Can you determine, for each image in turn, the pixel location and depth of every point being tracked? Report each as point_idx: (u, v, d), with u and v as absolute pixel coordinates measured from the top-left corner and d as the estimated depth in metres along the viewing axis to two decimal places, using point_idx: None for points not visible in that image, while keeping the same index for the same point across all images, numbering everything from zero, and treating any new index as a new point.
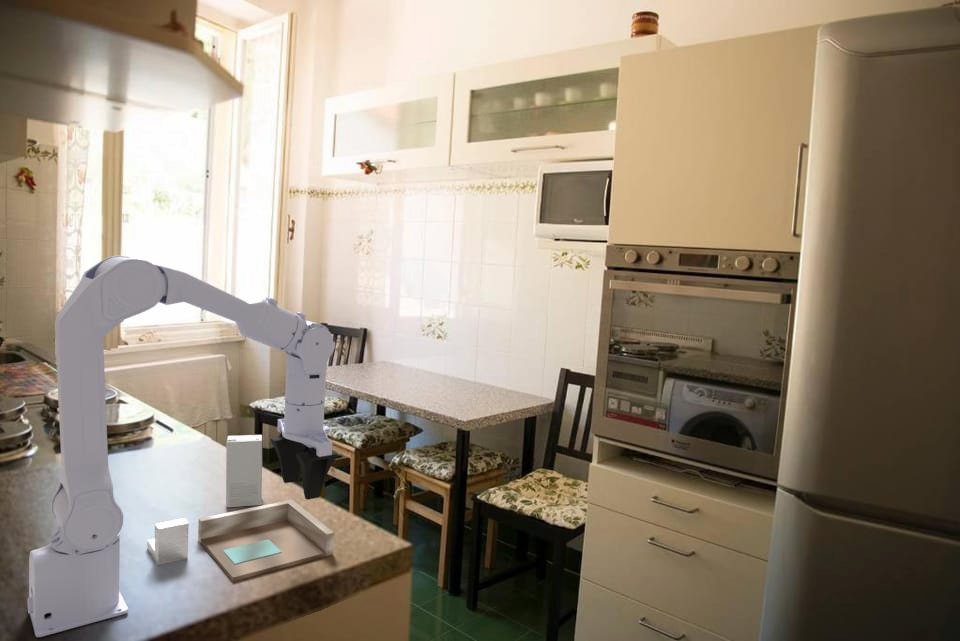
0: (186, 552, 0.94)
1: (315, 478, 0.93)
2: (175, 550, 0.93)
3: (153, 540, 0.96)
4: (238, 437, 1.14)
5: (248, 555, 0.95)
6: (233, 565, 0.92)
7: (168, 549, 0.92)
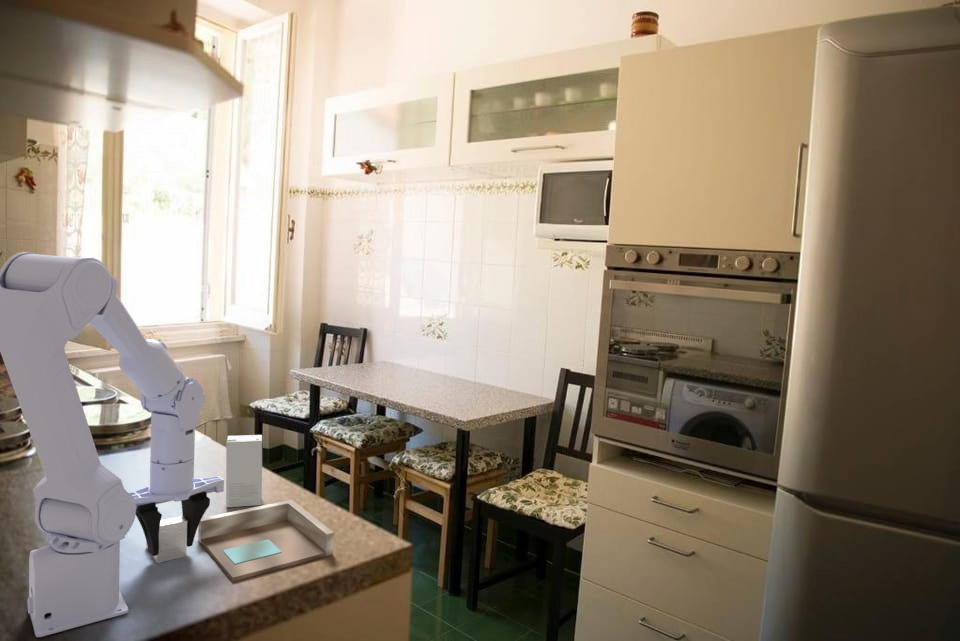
0: (185, 550, 0.94)
1: None
2: (174, 548, 0.93)
3: None
4: (238, 437, 1.14)
5: (248, 555, 0.95)
6: (233, 565, 0.92)
7: (167, 547, 0.93)
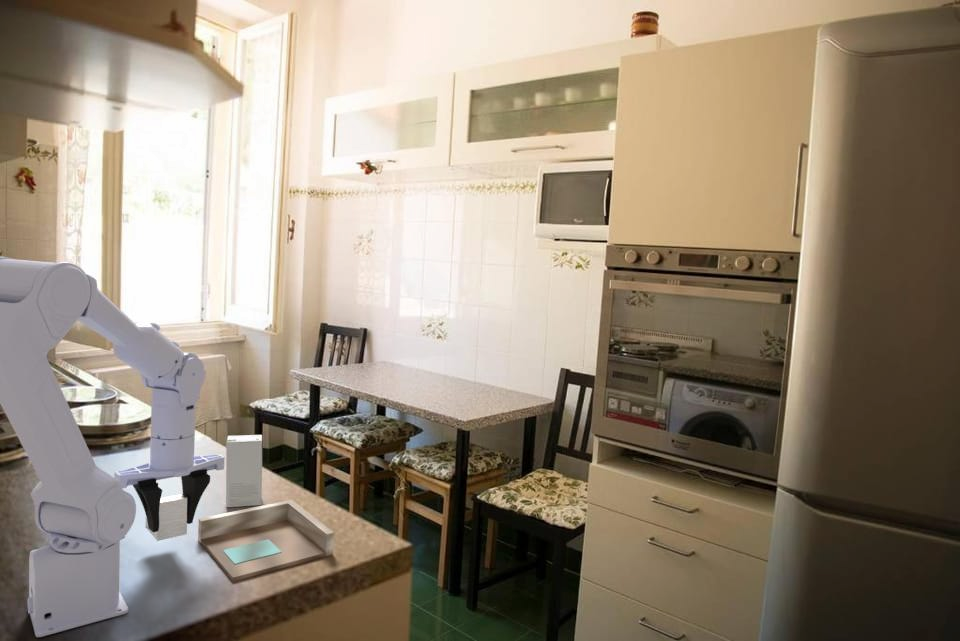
0: (185, 527, 0.94)
1: (150, 509, 0.91)
2: (174, 525, 0.93)
3: None
4: (238, 437, 1.14)
5: (248, 555, 0.95)
6: (233, 565, 0.92)
7: (167, 524, 0.92)
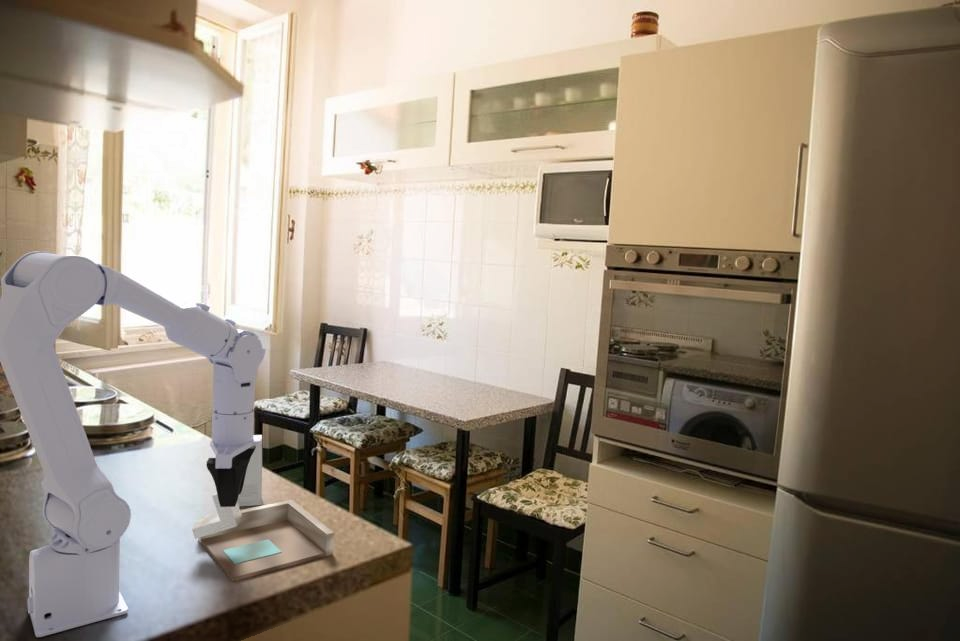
0: (239, 509, 0.97)
1: (228, 486, 0.92)
2: (236, 509, 0.96)
3: (197, 526, 0.93)
4: None
5: (248, 555, 0.95)
6: (233, 565, 0.92)
7: (234, 509, 0.95)
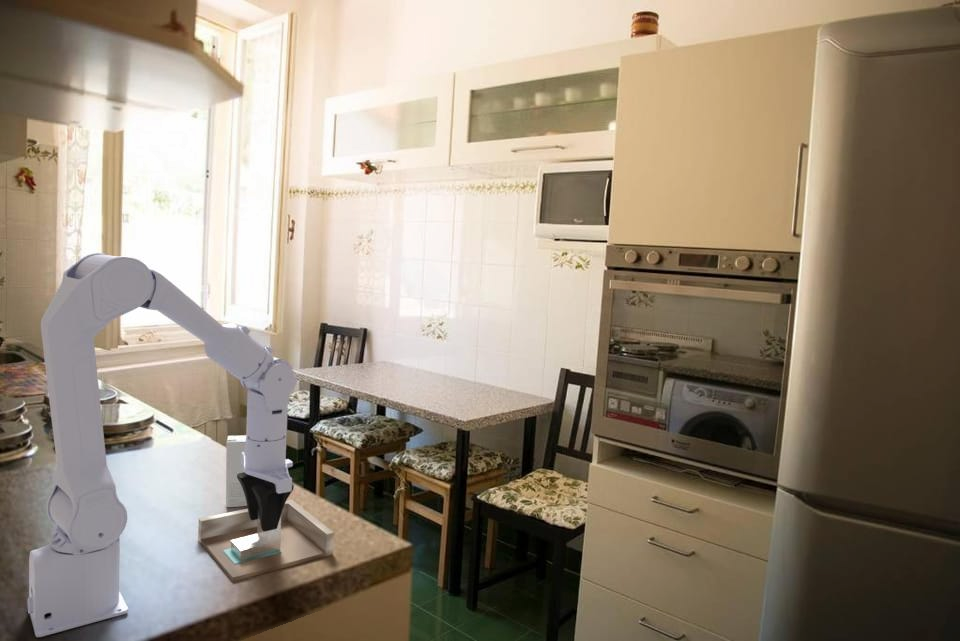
0: None
1: (272, 510, 0.94)
2: None
3: (242, 547, 0.94)
4: (238, 437, 1.14)
5: None
6: (233, 565, 0.92)
7: None
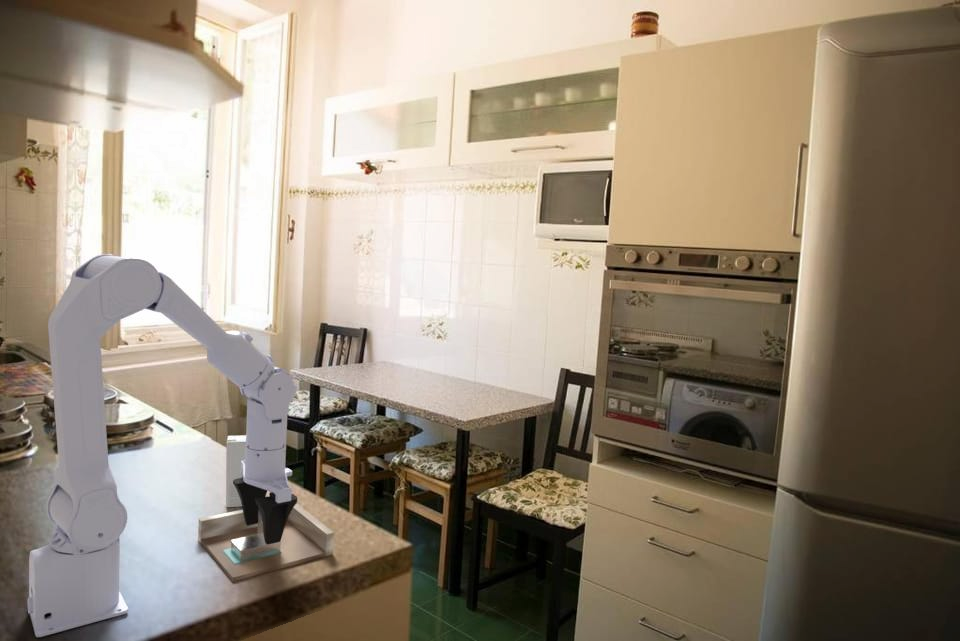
0: None
1: (275, 523, 0.93)
2: None
3: (243, 547, 0.94)
4: (238, 437, 1.14)
5: None
6: (233, 565, 0.92)
7: None
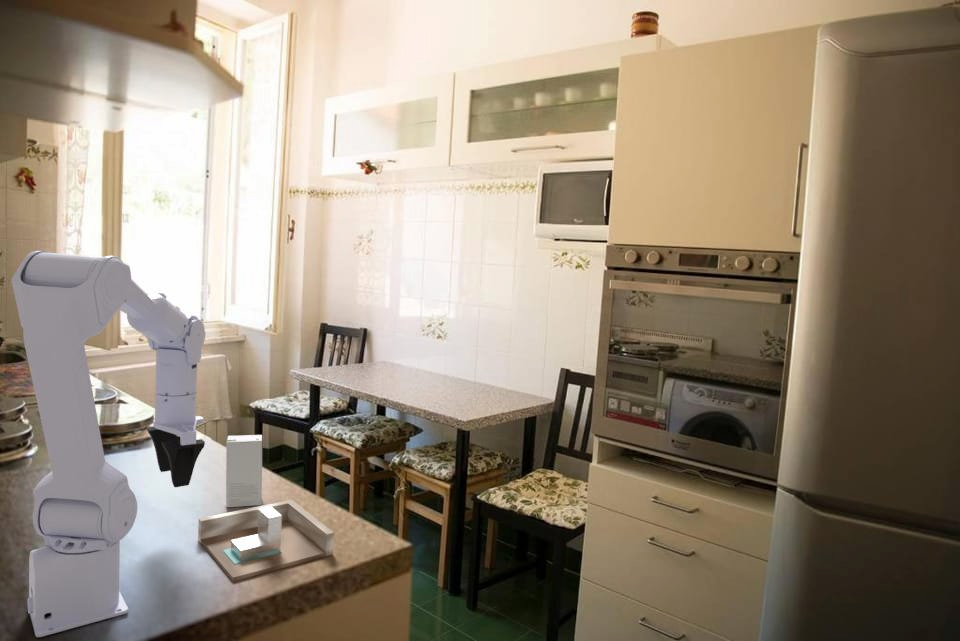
0: None
1: (183, 466, 0.96)
2: None
3: (243, 547, 0.94)
4: (238, 437, 1.14)
5: None
6: (233, 565, 0.92)
7: None
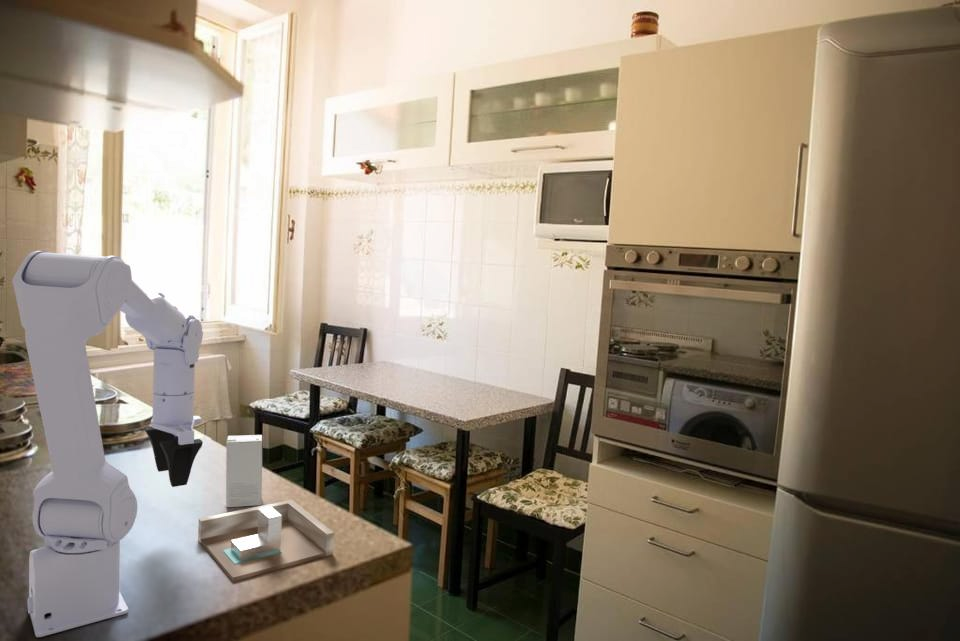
0: None
1: (181, 466, 0.96)
2: None
3: (243, 547, 0.94)
4: (238, 437, 1.14)
5: None
6: (233, 565, 0.92)
7: None
